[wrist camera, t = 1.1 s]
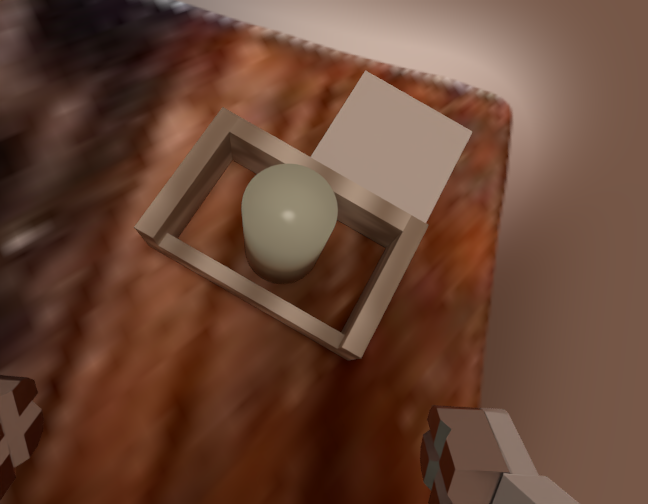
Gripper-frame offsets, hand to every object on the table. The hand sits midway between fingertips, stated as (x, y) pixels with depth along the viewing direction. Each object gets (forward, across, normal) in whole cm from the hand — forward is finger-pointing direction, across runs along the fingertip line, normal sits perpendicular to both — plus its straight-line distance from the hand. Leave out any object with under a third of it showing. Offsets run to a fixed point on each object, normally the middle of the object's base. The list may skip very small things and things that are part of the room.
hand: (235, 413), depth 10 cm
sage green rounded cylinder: (+29, +1, +10) cm, 31 cm away
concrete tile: (+37, -8, +3) cm, 38 cm away
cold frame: (+30, +1, +10) cm, 31 cm away
